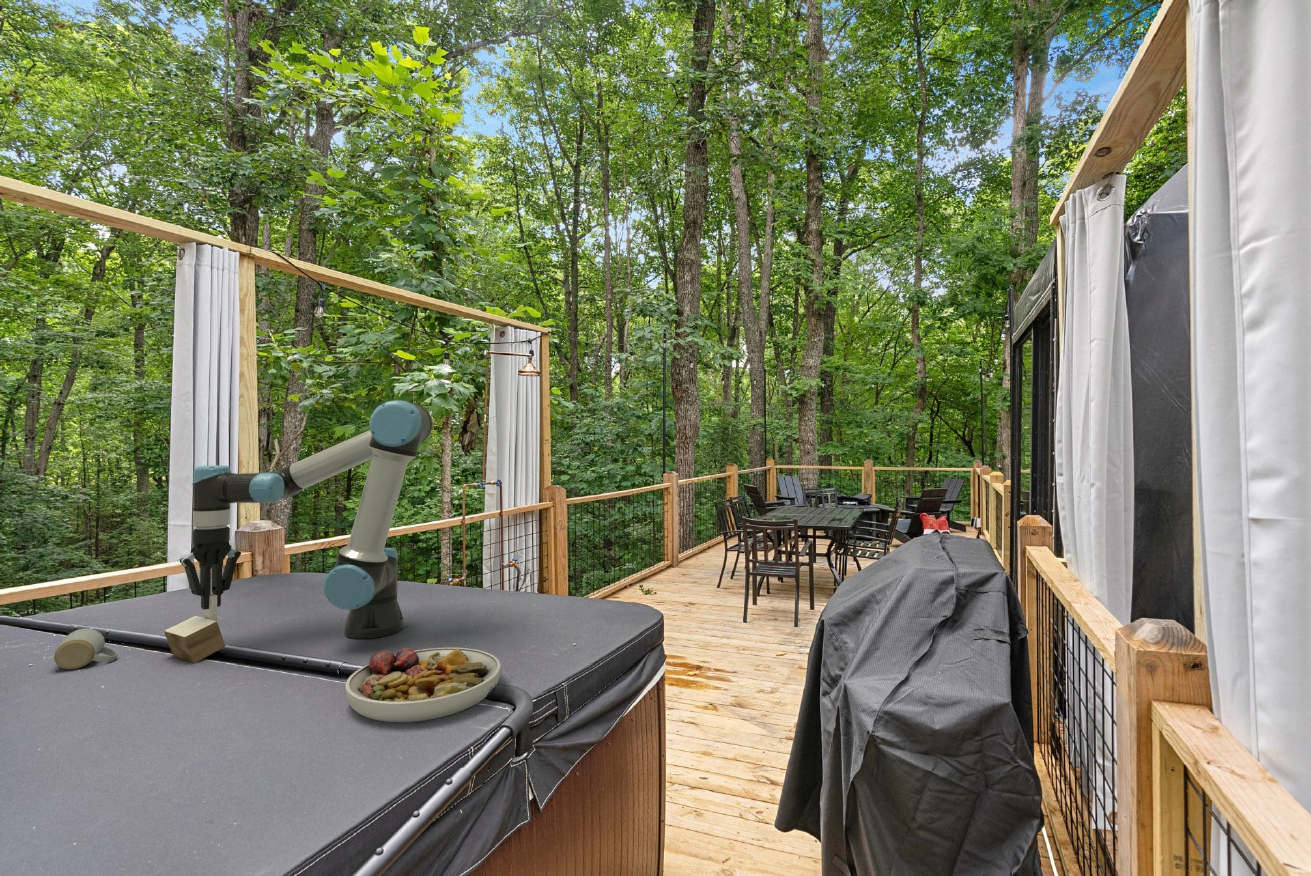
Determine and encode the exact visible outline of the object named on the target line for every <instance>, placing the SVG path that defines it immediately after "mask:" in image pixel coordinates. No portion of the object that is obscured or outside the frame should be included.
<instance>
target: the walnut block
mask: <svg viewBox="0 0 1311 876" xmlns="http://www.w3.org/2000/svg"><path fill="white" fill-rule="evenodd" d="M220 629H221V628H220V626H219V623H218V620H217V621H214V620H210V619H206V618H205V617H202V616H198V615H194V616H193V617H190V618H188V619H186V620H184V621H182V622H179V623H178V624H175V625H173V626H170V627H169V628H167V629H165V630H164V631H163V633H164V635H165V637H166V641H167V644H168V645H169V648H170V651H171V654H172V656H173V657H175V658H177V659H178V658H179V659H181V660H184V661H187V662H190V663H193V664H196V663H198V662H199V661H201V660H204V659H205V658H207V657H209V656H210V655H212V654H214V653H216V652H218V651H220V650H221V649H223V648H225V647H226V644H225V641H224V638H223V635H222V632H221V630H220Z"/></svg>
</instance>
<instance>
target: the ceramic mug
mask: <svg viewBox="0 0 1311 876" xmlns="http://www.w3.org/2000/svg"><path fill="white" fill-rule="evenodd" d="M105 644H106V641H105V637H104V635H103V634H102V633H101V632H100V631H98V630H95V629H92V628H80V629H77V630H74V631H72V632H70V633H69V634H67V636H66V637H65V638H64V639H63V640H62V641H61V642H60V644H59V645H58V646H57V647H56V649H55V651H54V655H53V660H54V663H55V664H56V665H57V666H58V667H59V668H61V669H64V670H78V669H81V668H83V667H85V666H87V665H89V664H90V663H91V662H97V663H103V664H105V663H111V662H114V661H115V660H116V659H117V657H118V655H119V652H118V651H117V650H115V649H113V648H111V647H108V646H105ZM101 654H103V655H101Z"/></svg>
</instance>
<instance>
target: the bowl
mask: <svg viewBox="0 0 1311 876" xmlns="http://www.w3.org/2000/svg"><path fill="white" fill-rule="evenodd" d="M501 669H502V667H501V661H500V660H499V659H498V658H497V657H496V656H495V655H493V654H491V653H489V652H486V651H483V650H480V649H474V648H469V647H468V648H465V647H435V648H434V647H433V648H423V649H417V650H414V649H413V648H411V647H403V648H401V649H399V650H398V652H396V654H394V652H393V651H391V650H388V649H381V650H380V651H377V652H375V653H374V654H373V655H372V656H371V657H370V658H369V662H368V664H366V665H364V666H362V667H360V668H359V669H357V670H356V671H354V672H353V673H352V674H350V676H349V677H348V678H347V679H346V682H345V684H344V685H345V692H344V693H345V698H346V700H347V703H348V704H349V705H350V707H351V708H352V709H353V711H355V712H356V713H358V714H359V715H361V716H363V717H365V718H368V719H371V720H376V721H378V722H379V721H380V722H388V723H415V722H423V721H429V720H430V721H431V720H434V719H440V718H443V717H447V716H451V715H454V714H457V713H460V712H462V711H464V710H467V709H469V708H471V707H472V706H474V705H476V704H478V703H480V702H481V701H482V700H484V699H485V698H487V697H488V696H487V694H488V692H489V689H490V687H491V686H493V685H495V684H496V685H497V684H498V683H499V680H500V676H501V671H502V670H501Z"/></svg>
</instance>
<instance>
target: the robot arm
mask: <svg viewBox="0 0 1311 876" xmlns="http://www.w3.org/2000/svg"><path fill="white" fill-rule="evenodd" d="M433 421H434V420H433V418H432V416H431V414H430V412H429V411H428V410H427V409H426V408H425V407H424V406H422V405H419V404H417V403H413V402H409V401H406V400H400V399H397V400H389V401H386V402H384V403H382V404H380V405H379V406H377V407H376V408H375V409H374V410H373V412H372V414H371V416H370V419H369V421H368V422H369V424H368V425H369V430H367V431H365V432H362V433H360V434H357V435H355V436H352V437H351V438H349V439H346V440H344V441H341V442H339V443H337V444H334V445H332V446H331V447H330V446H329V447H328V448H326V449H324V450H322V451H319V452H317V453H314V454H312V455H310V456H307V457H305V458H304V459H301V460H299V461H296V462H294V463H292V464H290V465H287V466H284V467H283V468H282V467H281V468H280V469H278V470H274V471H267V472H247V473H235V472H234V473H233V472H232V471H231V467H230V466H229V465H198V466H196V467H195V468H194V470H193V480H192V490H193V491H192V495H193V496H192V500H193V501H192V503H193V507H192V508H193V510H192V527H194V529H193V530H192V548H191V550H190V554H189V555H187V556H185V557H181V558H180V559H179V563H180V564H181V565H182V566H183V567H184V571H185V574H186V577H187V582H188V585H189V588H190V591H191V594H192V595H194V596H198V597H199V596H200V608H201V610H204V618H206V619H210V620H214V621H217V622H218V608H219V607H220V606H221V604H222V595H223V594H224V592H225V591H229V590H230V589H231V585H232V580H233V577H234V574H235V570H236V565H237V561H238V560H239V558H240V557H241V556H242V552H241V550H240V551H239V550H235V549H233V548H232V545H231V544H230V540H231V528H230V527H229V525H230V524H231V504H236V503H237V504H268V503H270V504H271V503H276V502H278V501H280V499H288V498H291V497H293V496H296V495H297V494H299V492H301V491H303V490H305V489H307V488H309V487H311V486H313V485H316V484H318V483H320V482H321V483H322V482H323V481H325V480H328V479H330V478H333V477H334V476H336V475H339V474H341V473H343V472H345V471H347V470H350V469H352V468H356V467H357V466H359V465H361V464H363V463H367V462H368V461H371V462H370V465H369V468H368V471H367V476H366V477H365V478H366V479H365V483H364V486H363V490H362V492H361V498H360V500H359V504H358V507H357V511H356V515H355V517H354V520H353V525H352V529H351V532H350V535H349V539H348V543H347V544H346V546H344V547H342V548H340V549H339V551H338V554H337V558H336V561H335V564H334V568H333V569H330V571H329V572H328V573H327V575H326V577H325V579H324V582H323V593H324V596H325V597H326V599H327V600H328V602H329V603H330V604H331V605H332V606H333V607H335V608H338V609H339V610H344V611H348V613H347V616H346V620H345V624H344V625H343V635H344V636H345V637H347V638H350V639H375V638H382V637H386V636H391V635H394V634H396V633H399V632H400V631H402V630H403V629H404V627H405V621H404V620H405V618H404V617H403V613H402V610H401V607H400V605H399V602H398V568H399V567H398V565H399V564H398V563H399V558H398V551H397V549H396V548H395V547H386V543H387V540H388V536H389V532H390V530H391V529H390V528H391V525H392V522H393V517H394V514H395V512H396V511H395V510H396V508H397V507H396V506H397V503H398V500H399V497H400V493H401V490H402V489H401V488H402V487H403V483H404V478H405V474H406V471H407V469H408V468H407V467H408V464H409V462H411V461H412V460H415V459H416V458H417V455H418V451H419V447H420V444H422V443H424V442H425V441H426V440H427V439H428V438H429V436H431V434H432V432H433V428H434V424H433V423H434V422H433ZM226 557H227V559H226ZM225 559H226V560H225ZM195 560H196V561H197V563H198V564H199V566H198V567H199V569H200V571H199V575H198V572H197V569H196V566H195V564H194V563H195ZM224 560H225V564H224ZM223 567H224V569H223Z"/></svg>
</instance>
